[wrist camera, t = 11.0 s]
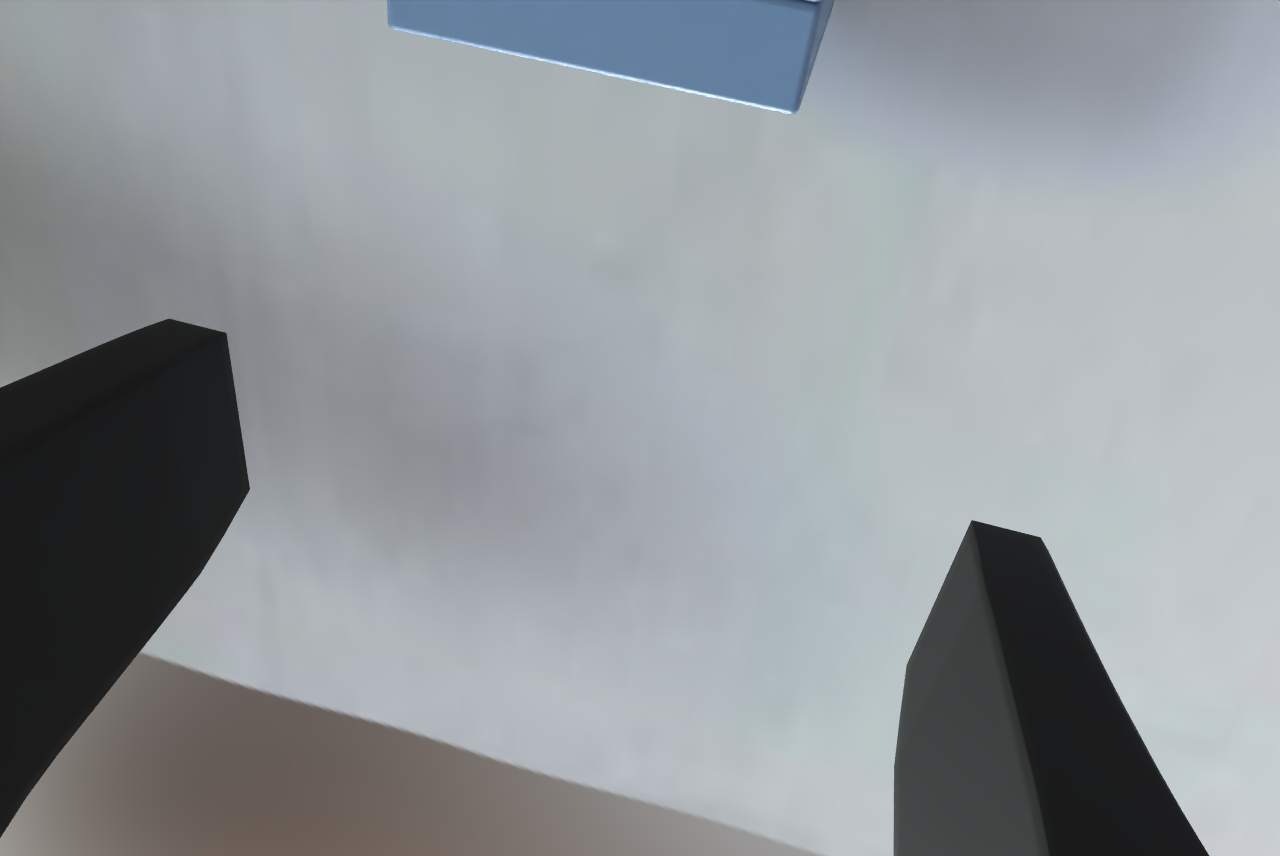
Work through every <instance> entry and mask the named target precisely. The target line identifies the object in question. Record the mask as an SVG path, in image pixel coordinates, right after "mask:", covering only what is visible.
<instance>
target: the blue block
mask: <svg viewBox="0 0 1280 856" xmlns="http://www.w3.org/2000/svg"><path fill="white" fill-rule="evenodd" d="M833 2H834V0H387V5H388V24H389V27H391V28H392V29H395V30H400V31H404V32H409V33H414V34H418V35H423V36H428V37H432V38H437V39H442V40H446V41H451V42H456V43H460V44H465V45H470V46H474V47H479V48H484V49H488V50H493V51H498V52H502V53H507V54H512V55H516V56H521V57H526V58H530V59H535V60H540V61H544V62H549V63H554V64H558V65H563V66H568V67H572V68H577V69H582V70H586V71H591V72H596V73H600V74H605V75H610V76H614V77H619V78H624V79H628V80H633V81H638V82H642V83H647V84H652V85H656V86H661V87H666V88H670V89H675V90H680V91H684V92H689V93H694V94H698V95H703V96H708V97H712V98H717V99H721V100H726V101H731V102H735V103H740V104H745V105H749V106H754V107H759V108H763V109H768V110H773V111H777V112H782V113H787V114H795V113H796V112H797V111H798V109H799V107H800V104H801V101H802V98H803V95H804V92H805V89H806V86H807V83H808V80H809V77H810V74H811V71H812V68H813V65H814V62H815V59H816V55H817V52H818V49H819V46H820V43H821V40H822V37H823V34H824V31H825V28H826V25H827V22H828V19H829V16H830V13H831V10H832V7H833Z"/></svg>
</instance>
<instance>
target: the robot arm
mask: <svg viewBox="0 0 1280 856" xmlns="http://www.w3.org/2000/svg"><path fill="white" fill-rule="evenodd" d="M249 490H250V487H249V481H248V474H247V467H246V461H245V454H244V447H243V441H242V434H241V427H240V421H239V414H238V407H237V401H236V394H235V387H234V381H233V374H232V367H231V361H230V354H229V348H228V341H227V334H226V333H224V332H220V331H216V330H212V329H208V328H204V327H200V326H196V325H192V324H188V323H184V322H180V321H176V320H172V319H167V320H164V321H161V322H158V323H155V324H152V325H150V326H147V327H144V328H141V329H139V330H136V331H134V332H131V333H129V334H126V335H124V336H121V337H119V338H116V339H114V340H111V341H109V342H107V343H104V344H102V345H99V346H97V347H95V348H92V349H90V350H88V351H85V352H83V353H81V354H78V355H76V356H74V357H71V358H69V359H67V360H64V361H62V362H60V363H57V364H55V365H53V366H50V367H48V368H46V369H43V370H41V371H39V372H36V373H34V374H32V375H29V376H27V377H25V378H22V379H20V380H18V381H15V382H13V383H11V384H8V385H6V386H4V387H1V388H0V837H1V836H2V834H3V833H4V831H5V830H6V828H7V827H8V825H9V823H10V822H11V820H12V819H13V817H14V816H15V814H16V812H17V811H18V809H19V808H20V806H21V805H22V803H23V802H24V800H25V799H26V797H27V796H28V794H29V793H30V792H31V790H32V789H33V788H34V786H35V785H36V783H37V782H38V781H39V779H40V778H41V776H42V775H43V774H44V772H45V771H46V770H47V768H48V767H49V766H50V764H51V763H52V762H53V760H54V759H55V758H56V756H57V755H58V753H59V752H60V751H61V750H62V749H63V747H64V746H65V745H66V744H67V742H68V741H69V740H70V738H71V737H72V736H73V735H74V733H75V732H76V731H77V730H78V728H79V727H80V726H81V725H82V723H83V722H84V721H85V720H86V718H87V717H88V716H89V715H90V713H91V712H92V711H93V710H94V708H95V707H96V706H97V705H98V703H99V702H100V701H101V700H102V698H103V697H104V696H105V694H106V693H107V692H108V691H109V689H110V688H111V687H112V686H113V684H114V683H115V682H116V681H117V679H118V678H119V677H120V676H121V674H122V673H123V672H124V671H125V669H126V668H127V667H128V665H129V664H130V663H131V662H132V661H133V659H134V658H135V657H136V656H137V654H138V653H139V652H140V651H141V649H142V648H143V647H144V646H145V644H146V643H147V642H148V641H149V639H150V638H151V637H152V635H153V634H154V633H155V632H156V630H157V629H158V628H159V627H160V625H161V624H162V623H163V621H164V620H165V619H166V618H167V616H168V615H169V614H170V612H171V611H172V610H173V609H174V607H175V606H176V605H177V603H178V602H179V601H180V600H181V598H182V597H183V596H184V594H185V593H186V592H187V591H188V589H189V588H190V587H191V585H192V584H193V583H194V581H195V580H196V579H197V577H198V576H199V575H200V573H201V572H202V570H203V569H204V567H205V565H206V564H207V562H208V560H209V559H210V557H211V556H212V554H213V552H214V551H215V549H216V547H217V546H218V544H219V542H220V541H221V539H222V538H223V536H224V534H225V532H226V531H227V529H228V527H229V525H230V524H231V522H232V520H233V518H234V516H235V515H236V513H237V511H238V509H239V508H240V506H241V504H242V502H243V500H244V499H245V497H246V495H247V493H248V492H249ZM894 856H1209V855H1208V853H1207V851H1206V850H1205V848H1204V846H1203V845H1202V843H1201V841H1200V840H1199V838H1198V837H1197V835H1196V833H1195V832H1194V830H1193V828H1192V827H1191V825H1190V823H1189V822H1188V820H1187V818H1186V817H1185V815H1184V813H1183V812H1182V810H1181V808H1180V807H1179V805H1178V803H1177V801H1176V800H1175V798H1174V796H1173V794H1172V793H1171V791H1170V789H1169V787H1168V786H1167V784H1166V782H1165V780H1164V779H1163V777H1162V775H1161V773H1160V772H1159V770H1158V768H1157V766H1156V764H1155V762H1154V761H1153V759H1152V757H1151V755H1150V753H1149V751H1148V749H1147V748H1146V746H1145V744H1144V742H1143V740H1142V738H1141V736H1140V735H1139V733H1138V731H1137V729H1136V727H1135V725H1134V724H1133V722H1132V720H1131V718H1130V716H1129V714H1128V712H1127V711H1126V709H1125V707H1124V705H1123V703H1122V701H1121V699H1120V697H1119V695H1118V694H1117V692H1116V690H1115V688H1114V686H1113V684H1112V682H1111V680H1110V678H1109V676H1108V674H1107V672H1106V670H1105V668H1104V666H1103V664H1102V662H1101V660H1100V658H1099V656H1098V654H1097V652H1096V650H1095V648H1094V646H1093V644H1092V642H1091V640H1090V638H1089V636H1088V634H1087V632H1086V630H1085V627H1084V625H1083V623H1082V621H1081V619H1080V617H1079V615H1078V613H1077V611H1076V609H1075V607H1074V604H1073V602H1072V600H1071V598H1070V596H1069V594H1068V592H1067V590H1066V587H1065V585H1064V583H1063V581H1062V579H1061V577H1060V575H1059V573H1058V570H1057V568H1056V566H1055V564H1054V562H1053V560H1052V558H1051V556H1050V553H1049V551H1048V549H1047V548H1046V546H1045V544H1044V543H1043V541H1042V539H1041V537H1037V536H1033V535H1029V534H1025V533H1021V532H1017V531H1013V530H1009V529H1005V528H1001V527H997V526H993V525H989V524H985V523H981V522H977V521H973V520H972V521H971V523H970V525H969V527H968V529H967V532H966V534H965V536H964V538H963V541H962V543H961V545H960V547H959V550H958V552H957V554H956V556H955V559H954V561H953V563H952V565H951V567H950V570H949V572H948V574H947V576H946V579H945V581H944V583H943V585H942V588H941V590H940V592H939V594H938V597H937V599H936V601H935V603H934V605H933V608H932V610H931V612H930V614H929V617H928V619H927V621H926V623H925V626H924V628H923V630H922V632H921V635H920V637H919V639H918V641H917V643H916V646H915V648H914V650H913V652H912V655H911V657H910V659H909V661H908V664H907V668H906V675H905V683H904V690H903V698H902V706H901V713H900V721H899V730H898V739H897V747H896V756H895V765H894Z"/></svg>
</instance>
